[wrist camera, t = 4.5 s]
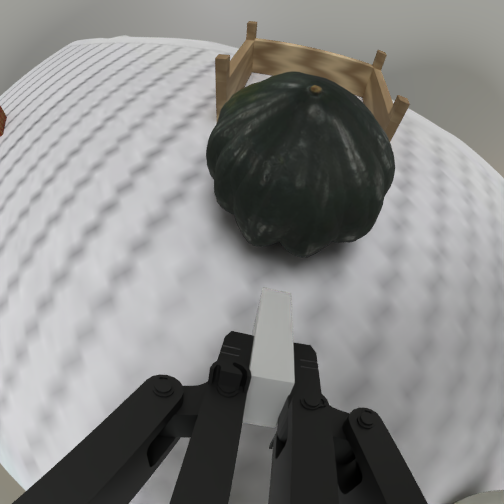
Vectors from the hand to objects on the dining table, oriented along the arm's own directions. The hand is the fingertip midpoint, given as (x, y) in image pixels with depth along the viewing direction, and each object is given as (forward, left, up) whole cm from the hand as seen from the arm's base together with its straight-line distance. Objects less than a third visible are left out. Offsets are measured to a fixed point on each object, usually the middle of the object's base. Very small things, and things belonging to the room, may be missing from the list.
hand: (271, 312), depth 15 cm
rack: (-1, -30, -7) cm, 31 cm away
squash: (-1, -12, -7) cm, 14 cm away
